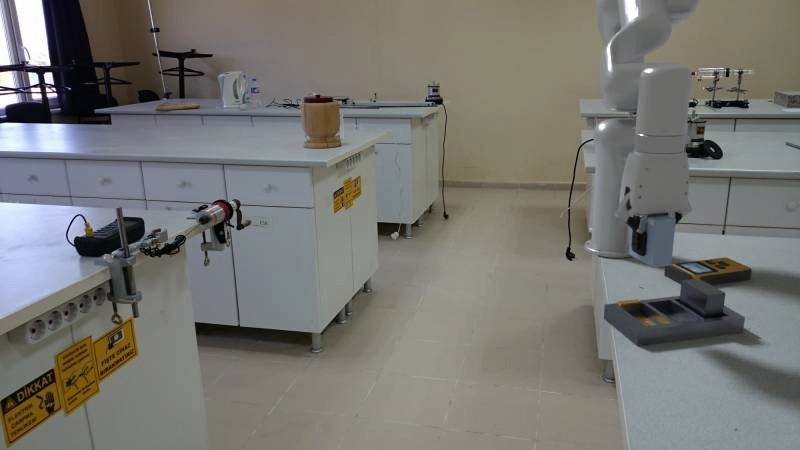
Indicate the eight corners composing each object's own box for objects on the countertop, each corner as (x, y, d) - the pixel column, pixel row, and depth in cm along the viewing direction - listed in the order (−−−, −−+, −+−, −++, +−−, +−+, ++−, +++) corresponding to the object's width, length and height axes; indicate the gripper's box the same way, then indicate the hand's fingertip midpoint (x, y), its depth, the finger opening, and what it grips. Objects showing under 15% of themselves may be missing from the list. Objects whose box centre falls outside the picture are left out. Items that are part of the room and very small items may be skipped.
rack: (603, 318, 112) (606, 284, 110) (701, 306, 116) (704, 273, 114) (637, 346, 102) (640, 308, 100) (743, 332, 105) (748, 295, 103)
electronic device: (753, 282, 128) (755, 267, 127) (688, 291, 124) (690, 275, 123) (723, 268, 136) (726, 254, 135) (662, 276, 132) (663, 261, 131)
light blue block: (628, 253, 107) (632, 209, 105) (647, 252, 108) (650, 208, 105) (651, 267, 100) (656, 220, 98) (671, 265, 101) (676, 218, 99)
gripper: (690, 138, 104) (679, 241, 109) (600, 144, 101) (593, 249, 106) (720, 144, 96) (708, 254, 102) (624, 151, 94) (616, 264, 99)
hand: (650, 251), depth 104 cm, fingers closed on light blue block, 3 cm apart
